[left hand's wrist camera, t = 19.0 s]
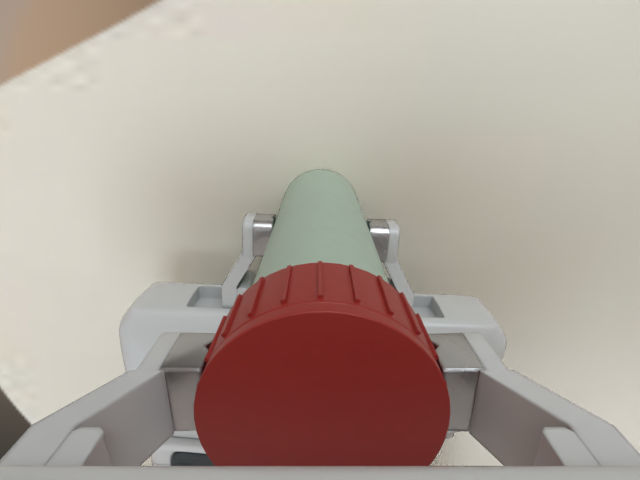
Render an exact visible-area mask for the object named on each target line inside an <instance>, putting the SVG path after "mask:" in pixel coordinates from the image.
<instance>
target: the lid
mask: <svg viewBox="0 0 640 480" xmlns="http://www.w3.org/2000/svg"><path fill="white" fill-rule="evenodd" d="M436 359H439V357H438V354H437V352H436V350H435V348H434V346H433V343H432V341H431V339H430V337H429V335H428V333H427V330H426V328H425V326H424V324H423V322H422V319H421V317H420V315H419V313H417V314H415V312H414V311H413V309H412V307H411V306H410V304H409V303H408V301H407V299H406V296H405V294H404V293H403V292H401V293H399V292H398V291H397V290H396V289H395V288H394V287H393V286H392V285H390V284H389V283H387V282H386V281H384V280H383V278H382V276H380V275H378V276H376V275H374V274H372V273H370V272H368V271H365V270H362V269H359V268H356V267H354V265H351V264H350V265H349V266H348V265H343V264H337V263H326V262H324V263H322V261H318V263H307V264H300V265H295V266H291V265H288V266H287V268H284V269H281V270H279V271H277V272H274V273H272V274H269V275H268V276H266V277H263V276H262V277H260V278H259V280H258V281H257V282H256V283H255V284H253V285H252V286H251V287H250V288H248V289H247V290H246V291H245V292H244V293H243V294H242V295H241V294H239V295H238V296H237V298H236V300H235V302H234V305H233V306H232V308H231V309H230V311H229V313H228V315H227V316H223V318H222V320H221V323H220V325H219V327H218V329H217V332H216V334H215V336H214V338H213V341H212V343H211V345H210V348H209V350H208V352H207V354H206V357H205V359H204V361H205V362H207V363H206V366H205V368H204V370H203V373H202V375H201V378H200V380H199V383H197V389H196V393H195V400H194V421H195V427H196V432H197V435H198V437H199V440H200V443H201V445H202V447H203V449H204V451H205V453H206V454H207V456H208V457H209V459H210V460H211V461H212V463H213V464H214V465H215V466H429V465H430V464H431V463H432V461H433V460H434V458H435V457H436V455H437V454H438V452H439V451H440V449H441V447H442V445H443V442H444V440H445V438H446V434H447V431H448V427H449V421H450V412H451V411H450V397H449V393H448V389H447V382H446V381H445V380H444V378H443V375H442V373H441V370H440V368H439V366H438V364H437V361H436Z"/></svg>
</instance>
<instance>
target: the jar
mask: <svg viewBox="0 0 640 480" xmlns="http://www.w3.org/2000/svg"><path fill="white" fill-rule="evenodd" d="M318 261H322V263H324V262H326V263H337V264H343V265H348V266H349V265H350V264H351V265H354V267H356V268H359V269H362V270H365V271H368V272H370V273H372V274H374V275H376V276H378V275H380V276H382V278H383V280H384V281H386V282H387V283H389V282H388V279H387V277H386V274H385V271H384V269H383V266H382V263H381V261H380V258H379V255H378V253H377V250H376V247H375V245H374V242H373V239H372V236H371V234H370V231H369V228H368V226H367V223H366V220H365V218H364V215H363V212H362V210H361V207H360V204H359V202H358V199H357V196H356V194H355V191H354V189H353V187H352V186H351V184H350V183H349V182H348V181H347V180H346V179H345V178H344V177H342V176H341V175H339V174H337V173H335V172H332V171H329V170H312V171H308V172H306V173H304V174H302V175H300V176H299V177H297V178H296V179H295V180H294V181H293V182H292V183H291V184H290V186H289V187H288V189H287V191H286V193H285V196H284V199H283V201H282V204H281V207H280V210H279V213H278V215H277V218H276V221H275V224H274V227H273V229H272V232H271V235H270V238H269V241H268V244H267V246H266V249H265V252H264V255H263V258H262V260H261V263H260V266H259V269H258V272H257V274H256V277H255V280H254V283H253V284H255V283H256V282H257V281H258V280H259V278H260V277H262V276H263V277H266V276H268V275H269V274H272V273H274V272H277V271H279V270H281V269H284V268H287V266H288V265H291V266H295V265H300V264H307V263H318Z"/></svg>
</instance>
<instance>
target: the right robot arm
mask: <svg viewBox="0 0 640 480" xmlns="http://www.w3.org/2000/svg"><path fill="white" fill-rule="evenodd" d="M275 221H276V215H272V214H257V213H247V214H246V216H245V217H244V219H243V225H242V248H243V250H242V251H241V253H240V254H239V256H238V258H237V259H236V261H235V263H234V264H233V266H232V268H231V269H230V271H229V273H228V275H227V277H226V278H225V280H224V282H223V284H222V285H218V284H196V283H173V282H157V283H154V284H152V285H151V286H150V287H149V288H148V289H147V290H145V291H144V292H143V293H142V294H141V295H140V296H139V297H138V298H137V299H136V300H135V301H134V302H133V304H132V305H131V306H130V307H129V309H128V310H127V311H126V313H125V314H124V316H123V318H122V320H121V323H120V328H119V336H120V344H121V350H122V356H123V361H124V366H125V370H126V372H128V371H130V370H137V368H138V367H139V365H140V364H141V362H142V361H143V359H144V358H145V357H146V355H147V354H148V352H149V351H150V349H151V348H152V346H153V345H154V343H155V342H156V341H157V339H158V338H159V336H160V335H161V334H162V333H165V332H182V333H183V332H187V333H216V332H217V329H218V327H219V325H220V323H221V320H222V318H223V316H227V315H228V313H229V311H230V309H231V308H232V306H233V305H234V302H235V300H236V298H237V296H238V295H239V294H241V295H242V294H243V293H244V292H245V291H246V290H247V289H248V288H250V287H251V286H252V285H253V283H254V280H255V273H254V272H253V271H247V270H248V268H249V266H250V265H251V263H252V262H253V260H254V258H255V257H256V256H263V255H264V252H265V249H266V246H267V244H268V241H269V238H270V235H271V232H272V229H273V227H274V224H275ZM366 223H367V226H368V228H369V231H370V234H371V236H372V239H373V242H374V245H375V247H376V250H377V253H378V255H379V258H380V261H381V262H383V263H384V265H385V267H386V269H387V271H388V273H389V275H390V277H391V278H390V277H387V279H388V282H389V284H390V285H392V286H393V287H394V288H395V289H396V290H397V291H398V292H399V293H401V292H403V293H404V294H405V296H406V299H407V301H408V303H409V304H410V306H411V307H412V309H413V311H414V312H415V314H417V313H419V315H420V317H421V319H422V322H423V324H424V326H425V328H426V330H427V333H428V334H434V333H466V332H479V333H481V334H483V336H484V337H485V339H486V340H487V341H488V343H489V344H490V346H491V347H492V348H493V350H494V351H495V353H496V354H497V355H498V357H499V358H500V360H501V361H502V359H503V356H504V352H505V349H506V342H507V341H506V336H505V333H504V331H503V329H502V328H501V326H500V324H499V323H498V322H497V320H496V319H495V317H494V316H493V315H492V313H491V312H490V311H489V310H488V309H487V308H486V307H485V306H484V305H483V303H482V302H481V301H480V300H479V299H477V298H476V297H473V296H465V295H442V294H419V293H413V292H412V290H411V288H410V286H409V283H408V281H407V279H406V277H405V275H404V273H403V271H402V269H401V266H400V264H399V262H398V260H397V253H398V245H399V237H400V230H399V225H398V224H397V222H396V221H395V220H385V219H367V221H366ZM454 432H460V431H447V434H446V438H445V439H447V438H452V437H453V436H454ZM151 459H152V464H153V466H215V465H214V464H213V463H212V461H211V460H210V459H209V457H208V456H207V454H206V453H205V451H204V449H203V447H202V445H201V443H200V440H199V437H198V435H197V432H196V431H174V434H173V435H172V436H171V437H170V438H169V439H168V440H167V441H166V442H165V443H164V444H163V445H162V446H160V447H159V448H158V449H157V450H156V451H155V452H154V453H153V454H152V455H151Z"/></svg>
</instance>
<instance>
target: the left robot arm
mask: <svg viewBox="0 0 640 480" xmlns="http://www.w3.org/2000/svg"><path fill="white" fill-rule="evenodd" d="M215 334H216V333H187V332H183V333H182V332H165V333H162V334H161V335H160V336H159V338H158V339H157V341H156V342H155V343H154V345H153V346H152V348H151V349H150V351H149V352H148V354H147V355H146V357H145V358H144V359H143V361H142V362H141V364H140V365H139V367H138V368H137V370H130V371H128V372H126V373H124V374H123V375H121V376H119V377H117V378H115V379H114V380H112V381H110V382H108V383H107V384H105V385H103V386H101V387H99V388H98V389H96V390H94V391H92V392H90V393H89V394H87V395H85V396H83V397H81V398H80V399H78V400H76V401H74V402H72V403H71V404H69V405H67V406H65V407H63V408H62V409H60V410H58V411H56V412H54V413H53V414H51V415H49V416H47V417H45V418H44V419H42V420H40V421H38V422H36V423H35V424H33V425H31V426H30V428H29V429H28V430H27V431H26V432H25V433H24V434H23V435H22V436H21V438H20V439H19V440H18V441H17V442H16V443H15V444H14V445H13V447H12V448H11V449H10V450H9V451H8V452H7V453H6V454H5V456H4V457H3V458H2V459H1V460H0V480H640V454H639V453H638V451H637V450H636V449H635V448H634V447H633V446H632V445H631V444H630V443H629V442H628V440H627V439H626V438H625V437H624V436H623V435H622V434H621V433H620V432H619V430H618V429H617V428H616V427H615V426H614V425H612V424H610V423H608V422H606V421H605V420H603V419H601V418H599V417H597V416H596V415H594V414H592V413H590V412H588V411H587V410H585V409H583V408H581V407H579V406H577V405H576V404H574V403H572V402H570V401H568V400H567V399H565V398H563V397H561V396H559V395H558V394H556V393H554V392H552V391H550V390H549V389H547V388H545V387H543V386H541V385H540V384H538V383H536V382H534V381H532V380H530V379H529V378H527V377H525V376H523V375H521V374H520V373H518V372H516V371H514V370H507V368H506V367H505V365H504V364H503V363H502V361H501V360H500V358H499V357H498V355H497V354H496V353H495V351H494V350H493V348H492V347H491V346H490V344H489V343H488V341H487V340H486V339H485V337H484V336H483V334H481V333H479V332H466V333H434V334H428V335H429V337H430V339H431V341H432V343H433V346H434V348H435V350H436V352H437V354H438V357H439V359H436V361H437V364H438V366H439V368H440V370H441V373H442V375H443V378H444V380H445V381H446V382H447V389H448V393H449V397H450V411H451V412H450V421H449V427H448V431H469V433H470V434H471V435H472V436H473V437H474V438H475V439H476V440H477V441H478V442H479V443H480V444H482V445H483V446H484V447H485V448H486V449H487V450H488V451H489V452H490V453H491V454H492V455H493V456H494V457H495V458H496V459H497V460H498V461H500V462H501V463H502V464H503V465H504V466H140V465H142V464H143V463H144V462H145V461H146V460H147V459H148V458H149V457H150V456H151V455H152V454H153V453H154V452H155V451H156V450H157V449H158V448H159V447H160V446H162V445H163V444H164V443H165V442H166V441H167V440H168V439H169V438H170V437H171V436H172V435H173V434H174V431H196V427H195V421H194V400H195V393H196V389H197V383H199V380H200V378H201V375H202V373H203V370H204V368H205V366H206V363H207V362H205V361H204V359H205V357H206V354H207V352H208V350H209V348H210V345H211V343H212V341H213V338H214V336H215Z"/></svg>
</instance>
